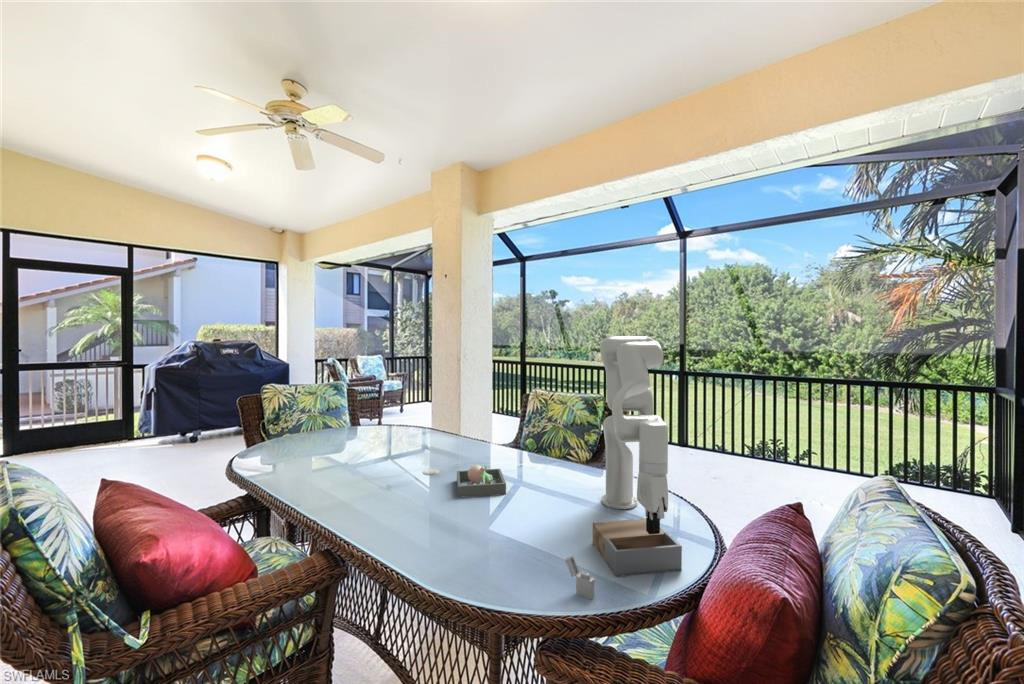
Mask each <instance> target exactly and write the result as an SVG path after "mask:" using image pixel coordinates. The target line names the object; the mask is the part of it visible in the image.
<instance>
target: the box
mask: <svg viewBox="0 0 1024 684" xmlns="http://www.w3.org/2000/svg"><path fill="white" fill-rule="evenodd" d="M682 552H683V547H682V545H681V544H680V543H679V542H678V541H677V540H676V539H675V538H674V537H673V536H672V535H671V534H670V533H669V532H668V531H664V546H658V547H646V548H635V549H623V550H617V549H616V547H615V546H614V545H613V543H612V542H611V541H610V540H609V538H608V537H605V560H604V562H605V563H606V565H607V567H608V568H609V569H610V570H611V572H612V574H613V575H614V577H616V578H618V577H628V576H636V575H648V574H649V575H650V574H658V573H660V574H661V573H668V572H678V571H679V572H680V571H682V568H683V567H682V559H683V557H682V555H683V554H682Z"/></svg>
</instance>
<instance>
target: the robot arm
mask: <svg viewBox="0 0 1024 684" xmlns="http://www.w3.org/2000/svg"><path fill="white" fill-rule="evenodd" d="M599 351H600V353H599V354H600V357H601V361H602V364H603V366H604V369H605V375H606V377H605V378H606V379H605V381H606V383H605V385H606V403H607V407H608V408H609V409H610V410H611V414H612V415H609V416H606V417H605V418H604V420H603V424H602V428H603V429H602V430H603V434H604V435H603V436H604V444H605V494H603V495H602V496H601V499H600V500H601V503H602V504H603V505H604V506H606V507H608V508H611V509H616V510H629V509H633V508H635V507H637V506H638V503H639V505H641V506H642V507H643V508H644V510H645V519H646V531H647V532H648V533H649V534H659V533H660V528H661V520H662V519H665V517H666V516H665V513H667V512H668V511H669V486H668V484H669V483H668V477H667V475H668V473H669V471H668V470H669V459H668V458H669V454H668V453H669V452H668V450H669V449H668V448H669V427H668V425H667V423H666V422H665V421H664V420H663V418H662V417H661V416H659V415H656V414H654V397H653V392H652V389H651V388H650V387H651V380H650V375H649V371H648V368H649V369H650V368H651V369H654V368H660V367H661V366H662V365H663V363H664V351H663V348H662V346H661V345H660V343H659V342H658V341H657V340H655V339H653V338H652V337H650V336H647V335H644V336H643V335H636V336H635V335H615V336H614V335H613V336H608V337H605V338H603V339H602V340H601V342H600V346H599ZM624 412H638V414H624ZM626 443H627V444H628V443H638V474H637V484H636V485H637V486H636V487H637V489H636V497H634V457H633V456H634V455H633V452H632V451H631V448H629V447H628V445H627V444H626Z"/></svg>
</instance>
